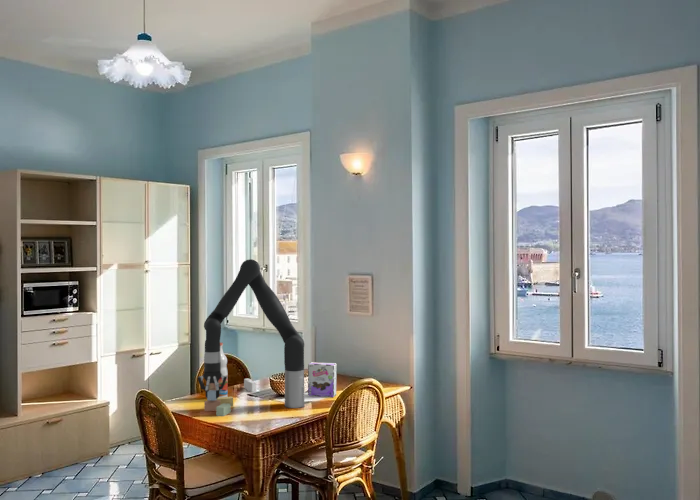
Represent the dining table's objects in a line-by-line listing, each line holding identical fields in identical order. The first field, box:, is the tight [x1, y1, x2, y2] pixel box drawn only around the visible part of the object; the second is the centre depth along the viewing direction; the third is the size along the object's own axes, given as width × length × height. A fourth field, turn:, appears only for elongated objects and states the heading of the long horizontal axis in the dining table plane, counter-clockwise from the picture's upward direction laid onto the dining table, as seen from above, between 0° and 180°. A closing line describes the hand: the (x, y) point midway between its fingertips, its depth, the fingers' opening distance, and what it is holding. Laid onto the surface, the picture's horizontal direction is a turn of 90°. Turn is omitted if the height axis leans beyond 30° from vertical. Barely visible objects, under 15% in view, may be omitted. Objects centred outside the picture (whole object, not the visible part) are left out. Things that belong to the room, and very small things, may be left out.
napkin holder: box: [243, 378, 257, 393], centre depth 329 cm, size 15×11×6 cm
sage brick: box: [215, 403, 232, 417], centre depth 280 cm, size 7×4×4 cm, turn 166°
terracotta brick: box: [203, 400, 220, 412], centre depth 287 cm, size 7×4×4 cm, turn 102°
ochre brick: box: [217, 396, 234, 407], centre depth 294 cm, size 7×4×4 cm, turn 109°
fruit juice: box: [209, 341, 229, 401], centre depth 307 cm, size 9×9×28 cm
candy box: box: [307, 361, 338, 398], centre depth 315 cm, size 14×6×16 cm, turn 76°
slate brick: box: [206, 390, 217, 401], centre depth 287 cm, size 7×4×4 cm, turn 5°
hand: (212, 397), depth 287 cm, fingers closed on slate brick, 3 cm apart
